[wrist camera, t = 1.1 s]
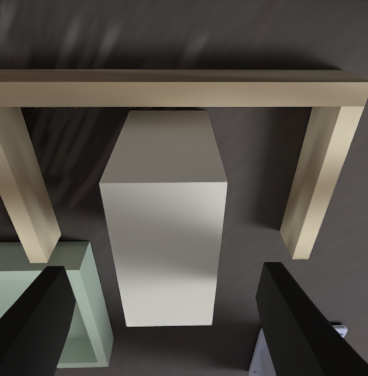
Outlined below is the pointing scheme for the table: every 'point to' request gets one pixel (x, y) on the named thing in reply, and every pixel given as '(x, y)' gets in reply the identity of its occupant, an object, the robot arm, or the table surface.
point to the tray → (83, 291)
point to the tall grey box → (165, 216)
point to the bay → (180, 97)
